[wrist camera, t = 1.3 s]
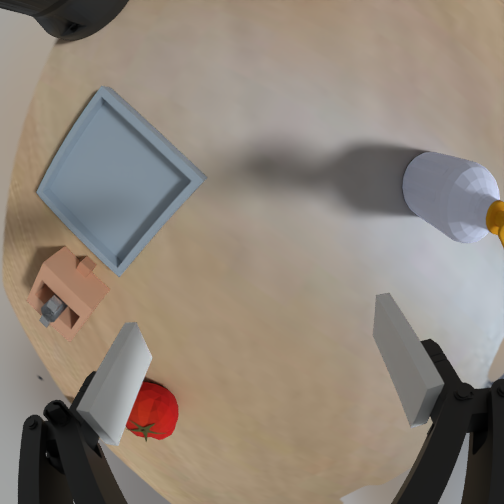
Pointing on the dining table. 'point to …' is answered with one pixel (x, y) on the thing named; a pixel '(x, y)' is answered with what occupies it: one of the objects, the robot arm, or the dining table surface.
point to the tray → (116, 180)
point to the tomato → (153, 412)
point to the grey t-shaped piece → (52, 310)
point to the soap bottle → (454, 196)
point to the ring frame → (68, 290)
